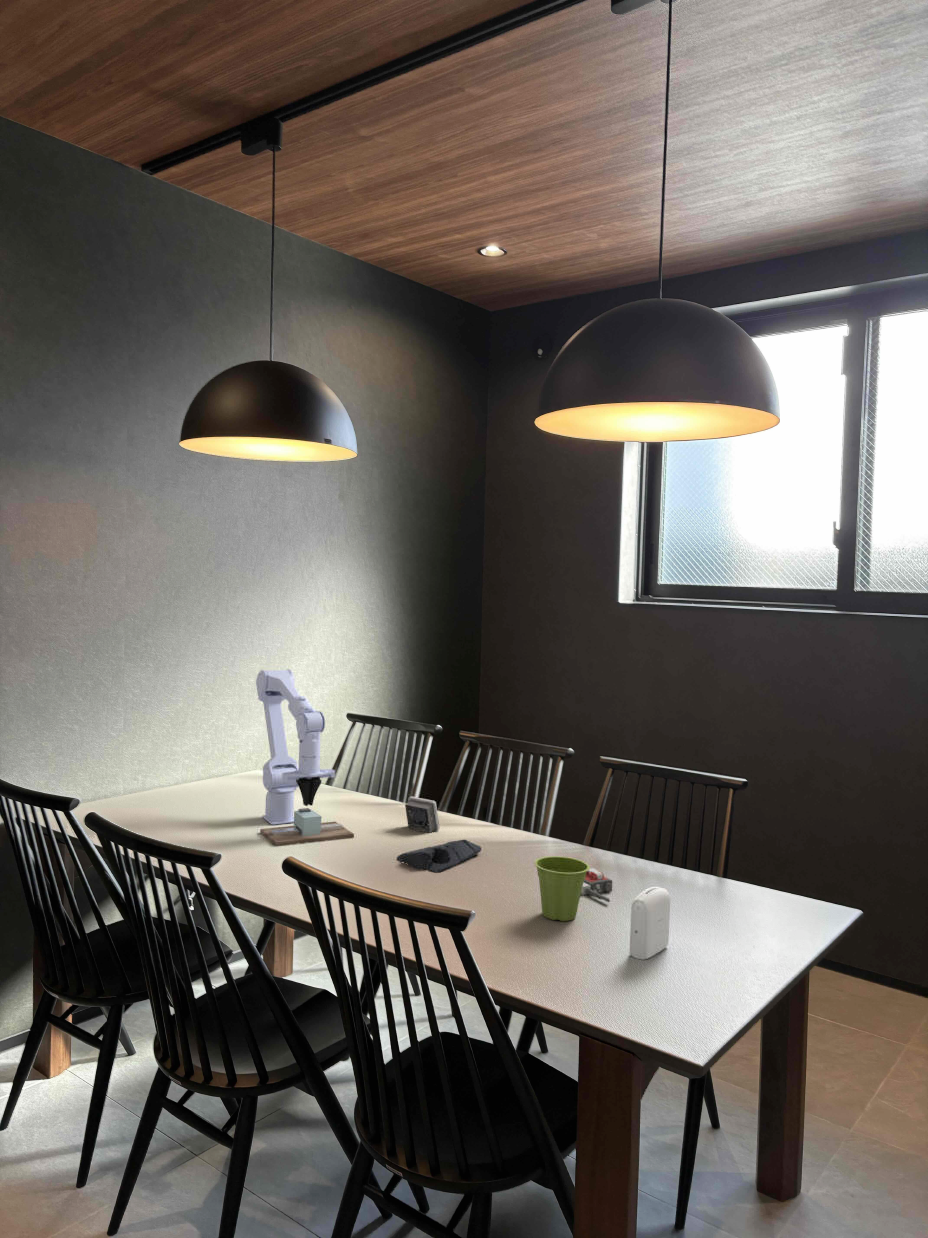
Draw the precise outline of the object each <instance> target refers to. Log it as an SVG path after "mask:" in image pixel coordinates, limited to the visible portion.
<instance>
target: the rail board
mask: <svg viewBox="0 0 928 1238" xmlns="http://www.w3.org/2000/svg"><path fill="white" fill-rule="evenodd" d="M259 830H260V834H261V835H262V836H264V837H265V838H266V839H267V840H268V841H269V842H270V843H272V844H273V845H274V846H275V847H279V846H280V847H281V846H289V845H290V844H291V845H297V843H300V844H306V843H305V842H309V843H316V842H315V841H318V842H325V840H327V841H336V840H342V839H343V840H345V839H352V838H355V834H354V833H353V832H352V831H350V830H348V829H347V828H346V827H344V825H343V824H341V823H340V822H339V823H338V822H337V821H329V822H328V821H327V822H321V834H320V835H310V836H302V835H301V833H302V830H301V829H300V828H299V827H298V828H294V825H287V826H278V827H268V828H267V827H266V828H260V829H259ZM334 839H335V840H334Z"/></svg>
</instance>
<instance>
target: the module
mask: <svg viewBox="0 0 928 1238" xmlns="http://www.w3.org/2000/svg"><path fill="white" fill-rule="evenodd" d="M293 817H294V823H293V826H294V828H298V827H299V828H300V829H301V830H302V833H301V835H302V836H310V835H320V834H321V823H322V815H321V814H319V813H317V812H316V811H314V810H313V809H310V808H309V807H305V808H304V807H303V808H298V810H293Z"/></svg>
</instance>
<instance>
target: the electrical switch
mask: <svg viewBox="0 0 928 1238" xmlns="http://www.w3.org/2000/svg"><path fill="white" fill-rule="evenodd" d="M404 807H405V814H406V815H405V816H406V819H407V820H406V821H407V822H406V823H407V827H408V828H407V829H409V828H410V830H414V831H418V832H419V831H420V832H425V833H428V834H430V833H433V832H434V831H435V832H438V831H439V830H440V821H439V814H438V808H437V807H438V806H437V802H436V801H435V800H431V799H426V798H420V797H417V796H412V795H411V796H410V797H408V802H407V803H405V805H404Z"/></svg>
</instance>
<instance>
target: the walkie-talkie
mask: <svg viewBox="0 0 928 1238" xmlns="http://www.w3.org/2000/svg"><path fill="white" fill-rule="evenodd" d="M612 891H613V880H612V879H610V878H608V877H606V876H605V875H604V873H603V872H601V871H599V870H598V869H595V868H591V867H590V869H589V870H588V871H587V873H586V877H585V880H584V882H583V886H582V891H581V895H583V896H585V895H588V896H589V895H590V896H592V897H594V898H596V899H598V900H603V901H605V902H607V903H610V901H611V900H610V898H608V897H606V896H605V895H603V894H601V893H606V892H607V893H609V892H612Z"/></svg>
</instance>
